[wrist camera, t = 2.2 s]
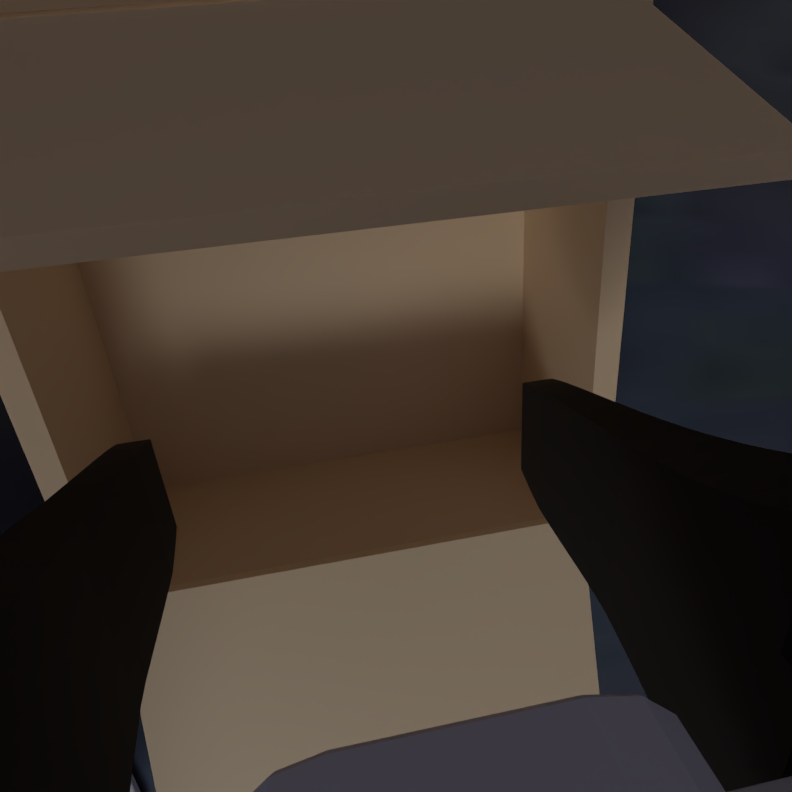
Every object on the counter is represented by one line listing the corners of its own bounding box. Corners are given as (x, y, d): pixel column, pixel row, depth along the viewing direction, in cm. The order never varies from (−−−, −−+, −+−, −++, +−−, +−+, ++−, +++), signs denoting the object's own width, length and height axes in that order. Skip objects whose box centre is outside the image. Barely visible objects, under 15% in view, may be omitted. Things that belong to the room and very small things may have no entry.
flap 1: (801, 178, 7) (819, 147, 7) (-250, 301, 6) (-285, 268, 6) (612, 1, 11) (619, -24, 10) (-85, 54, 9) (-101, 26, 9)
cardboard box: (534, 437, 21) (603, 529, 17) (136, 502, 19) (95, 622, 15) (547, -25, 15) (660, -74, 11) (-27, 15, 13) (-175, -24, 9)
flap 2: (581, 517, 16) (575, 512, 16) (117, 601, 14) (122, 594, 15) (602, 719, 16) (595, 710, 17) (161, 817, 15) (165, 805, 15)
